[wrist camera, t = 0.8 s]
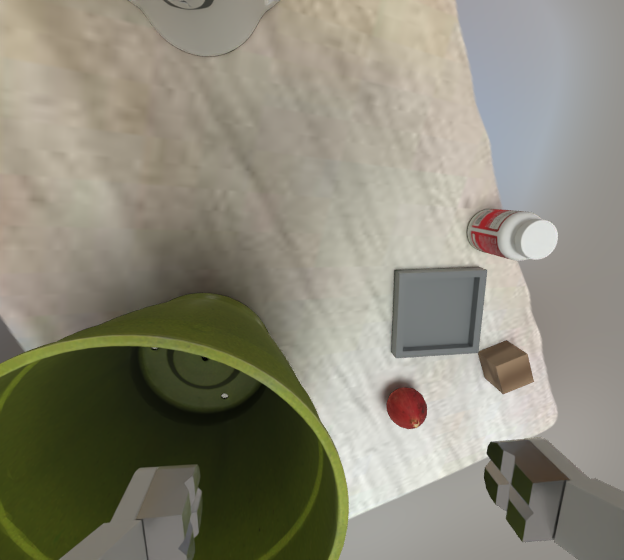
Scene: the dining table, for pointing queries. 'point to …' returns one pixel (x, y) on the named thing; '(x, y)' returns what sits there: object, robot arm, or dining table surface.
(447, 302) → the tray
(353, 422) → the dining table surface
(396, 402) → the red round piece
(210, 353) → the plant pot
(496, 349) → the walnut block
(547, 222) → the pill bottle
